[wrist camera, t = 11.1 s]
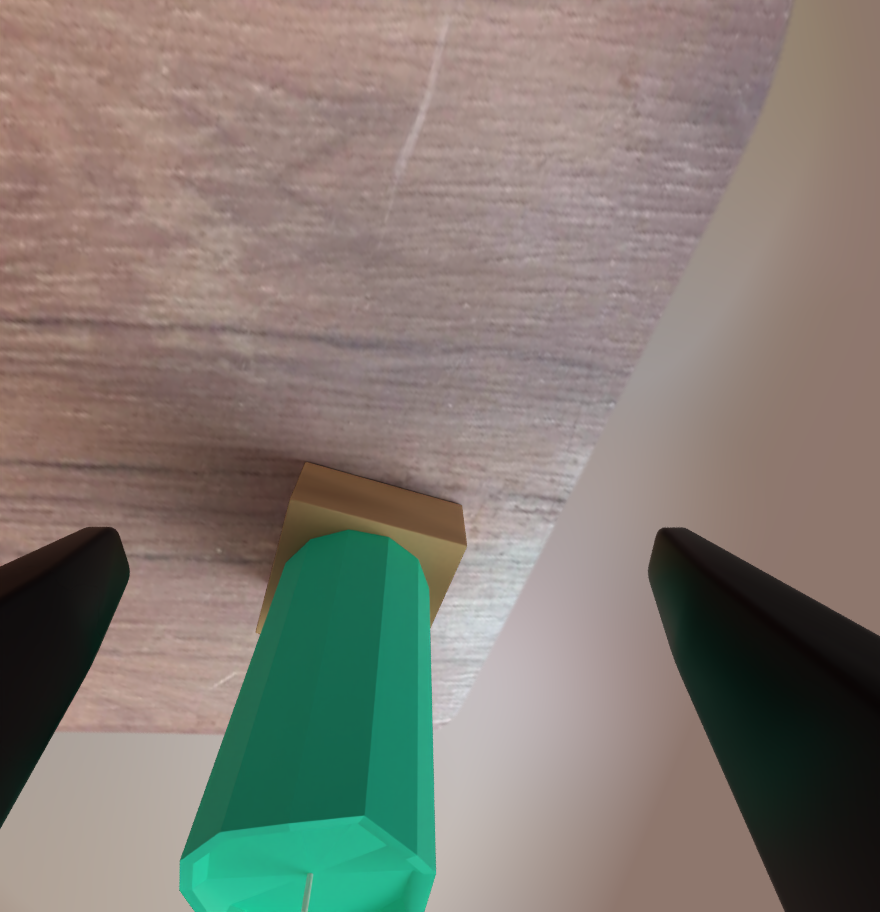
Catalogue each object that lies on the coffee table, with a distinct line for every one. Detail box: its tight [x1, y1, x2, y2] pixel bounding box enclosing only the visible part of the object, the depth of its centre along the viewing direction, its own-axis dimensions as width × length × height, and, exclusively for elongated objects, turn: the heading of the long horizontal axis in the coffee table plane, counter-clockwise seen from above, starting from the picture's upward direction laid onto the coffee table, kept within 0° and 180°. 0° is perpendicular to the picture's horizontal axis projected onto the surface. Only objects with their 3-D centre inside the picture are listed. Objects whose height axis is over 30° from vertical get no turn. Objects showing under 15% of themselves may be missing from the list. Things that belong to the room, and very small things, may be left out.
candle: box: [179, 530, 436, 912], centre depth 16 cm, size 6×6×12 cm
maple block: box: [256, 462, 467, 634], centre depth 23 cm, size 7×7×3 cm
